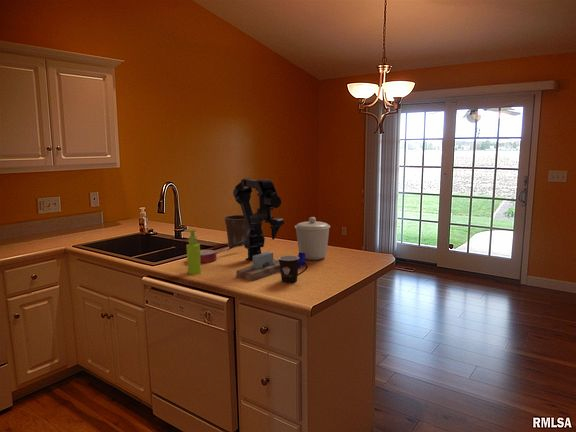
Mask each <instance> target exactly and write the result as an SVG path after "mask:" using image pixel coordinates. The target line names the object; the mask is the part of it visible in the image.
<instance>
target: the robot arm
mask: <svg viewBox="0 0 576 432" xmlns="http://www.w3.org/2000/svg"><path fill="white" fill-rule="evenodd" d="M253 189H255V191H256V192H258V193H256V197H258V208H257V209H256V212H254V213H253V210H252V206H251V202H250V201H251V196H252V192H253ZM232 194H233V197H234V199H235V202H236V203H237V204H239V205H240V208H241V212H242V215H244V219H245V222H246V226H247V229H248V232H247V235H246V237H247V239H246V241H245V243H244V245H243V246H244V249H247V258H245V260H247V261H251V262H253V256H254V255H258V254H261V253H262V248H264V246H265V235H264V232H263V230H262V227H263V226H262V224H263V223H266V224H270V225H269V227H270V229H271V239H272V240H275V239H276V237H277V234H278V232H279V230H280V228H281V227H282V226H283V225H285V220H284V218H281V217H276V218H274V216H273V215H272V211H273V210H274V209H278V208H280V207H281V204H282V199H281V197H280V196H279V195H278V193H277V189H276V187H275V184H274V183H273V181H272V179H270V178H269V179H252V178H242V179H241V180H240V182H239V183H238V184H236V186H235V187H234V189H233V193H232Z"/></svg>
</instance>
